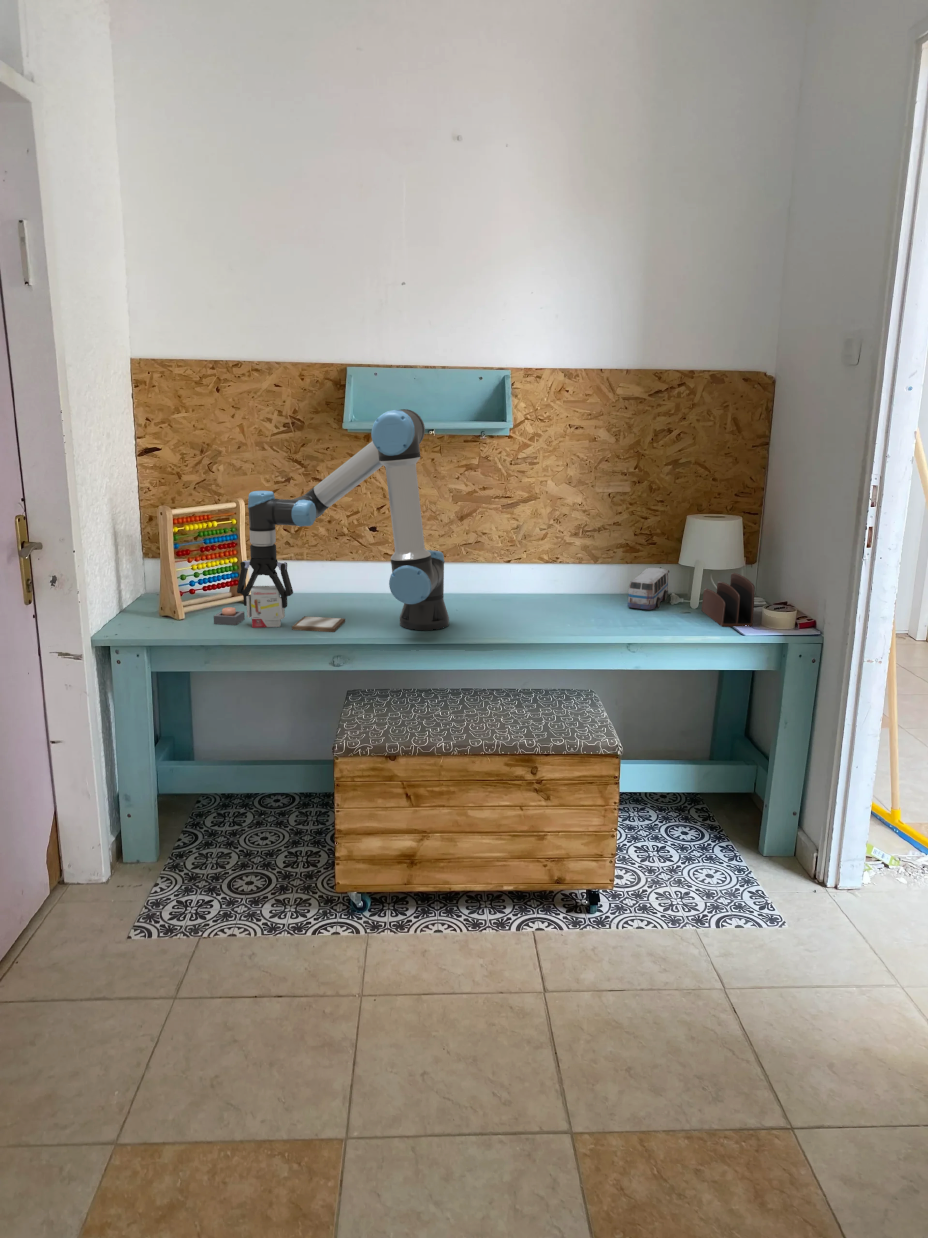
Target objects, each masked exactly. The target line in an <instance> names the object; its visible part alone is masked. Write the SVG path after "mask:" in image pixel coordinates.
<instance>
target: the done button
mask: <svg viewBox="0 0 928 1238" xmlns="http://www.w3.org/2000/svg"><path fill="white" fill-rule="evenodd" d="M221 611H222V615H223V616H235V615H236V611H237V610H236V607H231V606H228V607H223V608H222V609H221Z"/></svg>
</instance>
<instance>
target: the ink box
mask: <svg viewBox="0 0 928 1238" xmlns="http://www.w3.org/2000/svg"><path fill="white" fill-rule="evenodd" d="M250 594H251V612H252V616H251V628H253V629H256V628H260V629H261V628H280V627H281V626H282V625H281V623H282V622H281V620H282V619H279V598H280V597H281V595H280V593H279V592H278V590H277V588H276V586H275V585H253V586H252V587H251V591H250Z"/></svg>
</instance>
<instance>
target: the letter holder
mask: <svg viewBox="0 0 928 1238" xmlns="http://www.w3.org/2000/svg"><path fill="white" fill-rule="evenodd" d="M729 583H730V584H729ZM729 583H727V582H724V581H721V580H720V581H717V585H716V592H715V591H713V590H712V589H709V588H704V589H703V593H702V594H703V595H702V603H701V611H702V613H703V614H705V615H706V616H707V617H709V618H710V619H712V621H715V623H717V624H718V625H719V626H721V627H723V628H727V627H728V628H729V627H730V628H732V627H733V626H745V625H747V626H748V625H749V626H752V627H753V624H754V611H755V610H754V609H755V590H756V588H755V585H754V583H752V581H750V580H749V579H748V578H746V577H745V576H743V575H741V574H739V573H736V572H731V574H730V581H729Z"/></svg>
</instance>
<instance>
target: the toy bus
mask: <svg viewBox="0 0 928 1238" xmlns="http://www.w3.org/2000/svg"><path fill="white" fill-rule="evenodd" d="M669 574H670V570H669V569H666V568H661V567H647V568H645V569H644V570H643V571H642V572H641V573H640V574H638V575H637V576H635V578H634V579H632V580H631V581H630V583H629V586H628V591H627V592H628V596H627V598H628V599H627V607H629V608H633V609H641V610H654V609H659V608H660V605H661V602H665V601H667V597H668V593H669Z"/></svg>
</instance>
